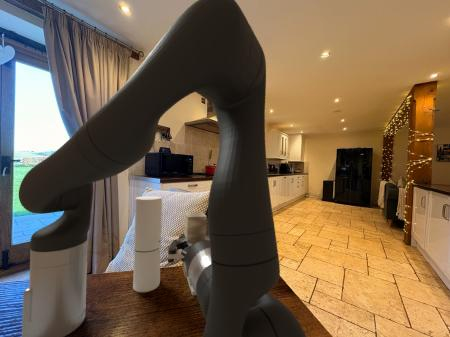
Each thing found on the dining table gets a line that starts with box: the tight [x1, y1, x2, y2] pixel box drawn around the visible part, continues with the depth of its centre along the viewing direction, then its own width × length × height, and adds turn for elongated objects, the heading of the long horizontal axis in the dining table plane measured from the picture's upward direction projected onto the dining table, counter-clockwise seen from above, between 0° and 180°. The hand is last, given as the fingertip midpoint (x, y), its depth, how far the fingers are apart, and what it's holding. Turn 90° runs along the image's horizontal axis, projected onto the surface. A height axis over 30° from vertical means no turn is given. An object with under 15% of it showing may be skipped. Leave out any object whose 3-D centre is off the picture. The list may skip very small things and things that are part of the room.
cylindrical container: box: [132, 195, 163, 293], centre depth 57 cm, size 7×7×25 cm
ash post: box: [182, 211, 208, 279], centre depth 48 cm, size 4×4×14 cm
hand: (192, 237), depth 51 cm, fingers closed on ash post, 4 cm apart
